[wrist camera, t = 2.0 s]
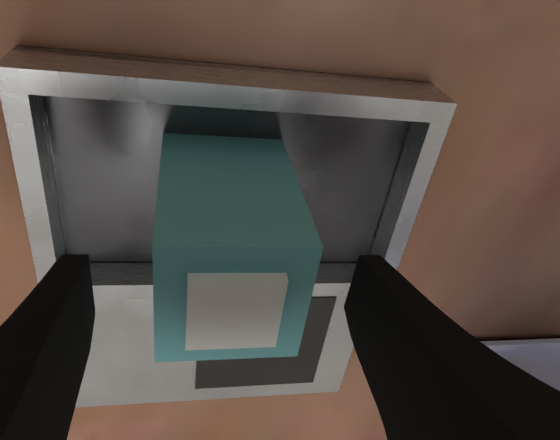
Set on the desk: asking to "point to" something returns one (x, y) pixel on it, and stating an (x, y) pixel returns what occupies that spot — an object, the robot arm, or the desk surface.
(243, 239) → the block
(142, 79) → the case
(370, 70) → the desk surface
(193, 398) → the lid
